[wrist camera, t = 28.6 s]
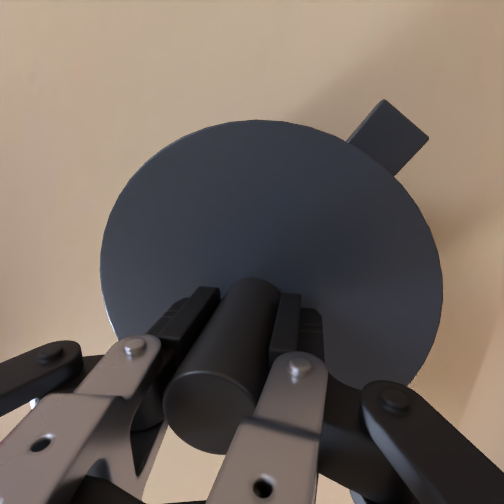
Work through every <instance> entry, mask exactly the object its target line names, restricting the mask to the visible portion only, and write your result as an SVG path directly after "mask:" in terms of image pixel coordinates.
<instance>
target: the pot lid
mask: <svg viewBox="0 0 504 504" xmlns="http://www.w3.org/2000/svg"><path fill="white" fill-rule="evenodd" d="M100 279H101V290H102V295H103V299H104V304H105V308H106V311H107V314H108V317H109V320H110V323H111V326H112V328H113V330H114V332H115V334H116V336H117V338H118V340H119V341H120V340H122V339H124V338H126V337H129V336H133V335H139V334H145V333H146V332H147V331H148V330H149V329H150V328H151V327H152V326H153V325H154V324H155V323H156V322H157V321H158V320H159V319H160V318H162V315H163V314H164V313H165V312H167V310H168V309H169V308H170V307H171V306H172V305H173V304H174V303H175V302H177V301H179V300H181V299H183V298H185V297H188V298H189V297H190V296H191V295H192V294H193V293H194V292H195V291H196V289H197V288H198V287H199V286H206V287H218V288H219V289H220V292H221V301H220V303H219V304H218V306H217V308H216V309H215V311H214V312H213V314H212V315H211V317H210V319H209V320H208V322H207V323H206V325H205V326H204V328H203V330H202V331H201V333H200V334H199V336H198V337H197V339H196V341H195V342H194V344H193V345H192V347H191V348H190V350H189V352H188V353H187V355H186V356H185V358H184V359H183V361H182V363H181V364H180V366H179V367H178V369H177V370H176V372H175V374H174V375H173V377H172V378H171V380H170V381H169V383H168V385H167V386H166V388H165V391H164V394H163V401H162V405H163V413H164V416H165V418H166V421H167V423H168V424H169V426H170V428H171V429H172V430H173V431H174V433H175V434H176V435H177V436H178V437H179V438H181V439H182V440H183V441H184V442H186V443H187V444H189V445H190V446H192V447H194V448H196V449H198V450H201V451H204V452H207V453H211V454H217V455H226V454H227V452H228V449H229V447H230V445H231V442H232V440H233V438H234V435H235V433H236V431H237V428H238V426H239V424H240V422H241V420H242V418H243V417H244V416H245V415H248V416H253V414H254V411H255V408H256V406H257V403H258V401H259V398H260V396H261V393H262V391H263V388H264V385H265V383H266V380H267V378H268V372H269V347H270V342H271V338H272V333H273V329H274V324H275V320H276V316H277V311H278V307H279V302H280V298H281V294H282V293H293V294H301V307H302V308H313V309H316V310H317V311H318V312H319V314H320V315H321V316H322V325H323V326H322V327H323V341H324V358H325V364H326V366H327V369H328V372H329V373H330V374H331V375H332V376H333V377H334V378H335V379H337V380H338V381H340V382H342V383H343V384H345V385H348V386H350V387H353V388H356V389H359V390H361V391H362V389H363V387H364V386H365V385H366V384H368V383H369V382H372V381H377V380H387V381H393V382H396V383H400V384H402V385H404V386H407V385H408V384H409V383H410V382H411V381H412V380H413V378H414V377H415V375H416V374H417V373H418V371H419V370H420V368H421V367H422V365H423V364H424V362H425V360H426V358H427V356H428V354H429V352H430V350H431V348H432V345H433V343H434V340H435V337H436V333H437V330H438V327H439V323H440V317H441V310H442V303H443V281H442V271H441V266H440V260H439V255H438V251H437V248H436V245H435V242H434V239H433V236H432V234H431V231H430V228H429V226H428V224H427V223H426V221H425V219H424V217H423V215H422V213H421V211H420V209H419V208H418V206H417V204H416V203H415V202H414V200H413V199H412V198H411V196H410V195H409V194H408V192H407V191H406V190H405V188H404V187H403V186H402V184H401V183H400V182H399V181H398V180H397V179H396V178H394V177H393V176H392V175H391V174H390V173H389V172H388V171H387V170H386V169H385V168H384V167H383V166H382V165H381V164H380V163H378V162H377V161H376V160H374V159H373V158H371V157H370V156H369V155H367V154H366V153H365V152H363V151H362V150H361V149H359V148H357V147H355V146H353V145H351V144H349V143H348V142H346V141H344V140H342V139H340V138H338V137H336V136H334V135H331V134H328V133H325V132H323V131H320V130H317V129H314V128H312V127H308V126H303V125H298V124H294V123H289V122H284V121H269V120H247V121H235V122H228V123H224V124H219V125H215V126H211V127H207V128H204V129H201V130H199V131H196V132H194V133H191V134H189V135H186V136H184V137H182V138H180V139H178V140H177V141H175V142H173V143H171V144H170V145H168V146H166V147H165V148H163V149H162V150H160V151H159V152H158V153H157V154H155V155H154V156H153V157H152V158H150V159H149V160H148V161H147V162H145V163H144V165H143V166H142V167H141V168H140V169H139V170H138V171H137V172H136V173H135V174H134V175H133V176H132V178H131V179H130V180H129V182H128V183H127V185H126V186H125V188H124V189H123V191H122V192H121V193H120V195H119V197H118V199H117V201H116V203H115V205H114V207H113V209H112V211H111V213H110V215H109V219H108V222H107V225H106V228H105V231H104V235H103V241H102V247H101V253H100Z"/></svg>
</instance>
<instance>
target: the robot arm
mask: <svg viewBox="0 0 504 504" xmlns="http://www.w3.org/2000/svg"><path fill="white" fill-rule="evenodd" d="M220 301H221V292H220V289H219V288H218V287H206V286H199V287H198V288H197V289H196V291H195V292H194V293H193V294H192V295H191V296H190V297H189V298H188V297H185V298H183V299H181V300H179V301H177V302H175V303H174V304H173V305H172V306H171V307H170V308H169V309H168V310H167V312H165V313H164V314H163V315H162V318H160V319H159V320H158V321H157V322H156V323H155V324H154V325H153V326H152V327H151V328H150V329H149V330H148V331H147V332H146V333H145V334H139V335H133V336H129V337H126V338H124V339H122V340H120V341H118V342H116V343H115V344H114V345H113V346H112V347H111V348H110V349H109V350H108V352H107V353H106V354H105V355H95V356H85V357H82V352H81V347H80V345H79V344H78V343H77V342H74V341H68V340H64V341H56V342H52V343H48V344H45V345H43V346H40V347H38V348H35V349H33V350H30V351H28V352H26V353H23V354H21V355H18V356H16V357H14V358H11V359H9V360H7V361H4V362H2V363H0V417H1V416H3V415H5V414H7V413H9V412H11V411H12V410H14V409H16V408H18V407H20V406H22V405H24V404H26V403H28V402H30V405H31V408H32V410H31V411H30V412H29V413H28V414H27V415H26V416H25V417H24V418H23V419H22V420H21V421H20V422H19V423H18V425H17V426H16V427H15V428H14V429H13V430H12V431H11V432H10V433H9V434H8V435H7V436H6V437H5V438H4V439H3V440H2V441H1V442H0V504H146V503H144V502H142V495H143V491H144V487H145V484H146V482H147V479H148V477H149V474H150V472H151V469H152V466H153V464H154V461H155V459H156V456H157V453H158V451H159V448H160V446H161V443H162V440H163V438H164V435H165V433H166V430H167V428H168V423H167V421H166V418H165V416H164V413H163V405H162V401H163V394H164V391H165V388H166V386H167V385H168V383H169V381H170V380H171V378H172V377H173V375H174V374H175V372H176V370H177V369H178V367H179V366H180V364H181V363H182V361H183V359H184V358H185V356H186V355H187V353H188V352H189V350H190V348H191V347H192V345H193V344H194V342H195V341H196V339H197V337H198V336H199V334H200V333H201V331H202V330H203V328H204V326H205V325H206V323H207V322H208V320H209V319H210V317H211V315H212V314H213V312H214V311H215V309H216V308H217V306H218V304H219V303H220ZM322 326H323V325H322V316H321V315H320V314H319V312H318V311H317V310H316V309H313V308H302V307H301V294H293V293H282V294H281V298H280V302H279V307H278V311H277V316H276V320H275V324H274V329H273V333H272V338H271V342H270V347H269V372H268V378H267V380H266V383H265V385H264V388H263V391H262V393H261V396H260V398H259V401H258V403H257V406H256V408H255V411H254V414H253V416H248V415H245V416H244V417H243V418H242V420H241V422H240V424H239V426H238V428H237V431H236V433H235V435H234V438H233V440H232V442H231V445H230V447H229V449H228V452H227V454H226V456H225V459H224V461H223V463H222V466H221V468H220V470H219V473H218V475H217V477H216V480H215V482H214V484H213V487H212V489H211V491H210V494H209V496H208V498H207V500H204V501H191V502H179V503H166V504H315V503H316V494H317V485H318V476H319V473H320V474H322V475H324V476H325V477H327V478H329V479H331V480H333V481H335V482H337V483H339V484H341V485H343V486H344V487H346V488H348V489H350V494H351V497H352V499H353V501H354V503H355V504H504V473H503V472H502V471H501V470H500V469H499V468H498V467H497V466H496V465H495V464H494V463H493V462H492V461H491V460H489V459H488V458H487V457H486V456H485V455H484V454H483V453H482V452H481V451H480V450H479V449H477V448H476V447H475V446H474V445H473V444H472V443H471V442H470V441H469V440H468V439H466V437H465V436H463V435H462V434H461V433H460V432H459V431H458V430H457V429H456V428H455V427H454V426H453V425H452V424H450V423H449V422H448V421H447V420H446V419H445V418H444V417H443V416H442V415H441V414H440V413H439V412H437V411H436V410H435V409H434V408H433V407H432V406H431V405H430V404H429V403H428V402H427V401H425V400H424V399H423V398H422V397H421V396H420V395H419V394H418V393H416V392H415V391H413V390H412V389H410V388H408V387H407V386H404V385H402V384H400V383H396V382H393V381H387V380H377V381H372V382H369V383H368V384H366V385H365V386H364V387H363V389H362V391H361V390H359V389H356V388H353V387H350V386H348V385H345V384H343V383H342V382H340V381H338V380H337V379H335V378H334V377H333V376H332V375H331V374H330V373H329V372H328V369H327V366H326V364H325V358H324V341H323V327H322Z"/></svg>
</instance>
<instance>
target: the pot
mask: <svg viewBox="0 0 504 504" xmlns="http://www.w3.org/2000/svg"><path fill="white" fill-rule="evenodd" d="M428 140H429V137H428V136H427V135H426V134H425V133H424V132H422V131H421V130H420V129H419V128H418V127H417V126H416V125H414V124H413V123H412V122H411V121H410V120H409V119H407V118H406V117H405V116H404V115H403V114H402V113H400V112H399V111H398V110H397V109H396V108H395V107H394V106H392V105H391V104H390V103H389V102H388V101H387V100H385V99H383V100H382V101H380V102H379V103H378V104H377V105H376V106H375V107H374V109H373V110H372V111H371V112H370V113H369V114H368V116H367V117H366V118H365V119H364V120H363V122H362V123H361V124H360V125H359V126H358V128H357V129H356V130H355V131H354V132H353V133H352V135H351V136H350V137H349V138H348V139H347V141H346V142H348V143H349V144H351V145H353V146H355V147H357V148H359V149H361V150H362V151H363V152H365V153H366V154H367V155H369V156H370V157H371V158H373V159H374V160H376V161H377V162H378V163H380V164H381V165H382V166H383V167H384V168H385V169H386V170H387V171H388V172H389V173H390V174H391V175H392V176H393V177H394V176H395V175H396V174H397V173H398V172H399V171H400V170H401V169H402V168H403V167H404V166H405V165H406V163H407V162H408V161H409V160H410V159H411V158H412V157H413V156H414V155H415V154H416V153H417V152H418V151H419V150H420V149H421V148H422V147H423V146H424V145H425V144H426V142H427V141H428Z"/></svg>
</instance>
